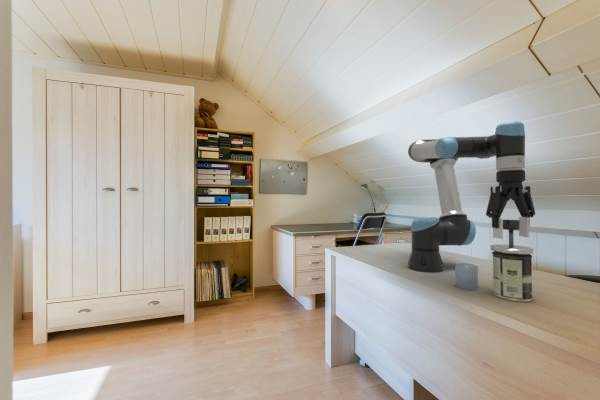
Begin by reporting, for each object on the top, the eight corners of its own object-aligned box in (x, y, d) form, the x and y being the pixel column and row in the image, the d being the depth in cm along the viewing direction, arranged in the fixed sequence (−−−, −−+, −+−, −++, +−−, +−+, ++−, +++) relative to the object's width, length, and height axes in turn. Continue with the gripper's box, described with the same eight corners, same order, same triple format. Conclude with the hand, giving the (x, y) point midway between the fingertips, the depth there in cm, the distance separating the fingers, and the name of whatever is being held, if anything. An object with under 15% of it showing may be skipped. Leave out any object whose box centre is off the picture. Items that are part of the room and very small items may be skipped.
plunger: (482, 248, 92) (482, 219, 92) (508, 247, 95) (507, 218, 95) (514, 255, 81) (514, 221, 81) (542, 253, 84) (542, 220, 84)
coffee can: (520, 291, 92) (519, 250, 92) (540, 303, 82) (540, 257, 82) (486, 289, 94) (486, 250, 94) (502, 300, 84) (502, 256, 84)
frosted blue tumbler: (450, 285, 100) (450, 263, 100) (466, 283, 101) (466, 262, 101) (466, 291, 93) (466, 268, 93) (482, 289, 95) (482, 267, 95)
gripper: (492, 168, 82) (493, 240, 82) (549, 169, 87) (550, 237, 87) (472, 171, 89) (472, 237, 89) (525, 171, 94) (526, 234, 94)
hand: (511, 237), depth 88 cm, fingers open, 10 cm apart
